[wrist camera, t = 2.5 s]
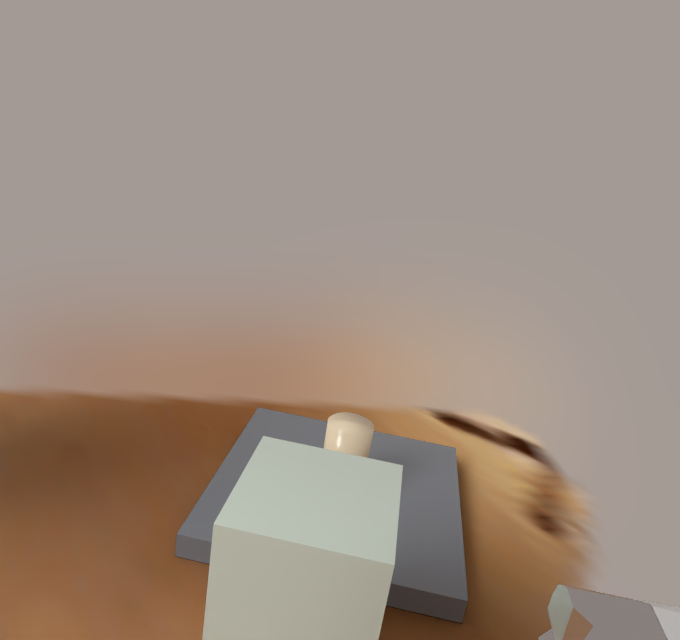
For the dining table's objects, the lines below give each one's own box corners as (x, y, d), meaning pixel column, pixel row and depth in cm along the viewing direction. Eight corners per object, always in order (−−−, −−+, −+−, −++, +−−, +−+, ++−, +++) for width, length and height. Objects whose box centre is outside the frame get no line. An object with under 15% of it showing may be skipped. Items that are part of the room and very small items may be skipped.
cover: (191, 760, 22) (213, 524, 19) (239, 635, 28) (263, 435, 25) (343, 801, 22) (394, 565, 18) (360, 665, 28) (402, 465, 24)
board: (175, 556, 32) (181, 463, 30) (256, 423, 47) (264, 356, 46) (461, 623, 31) (487, 530, 29) (451, 464, 46) (467, 396, 44)
